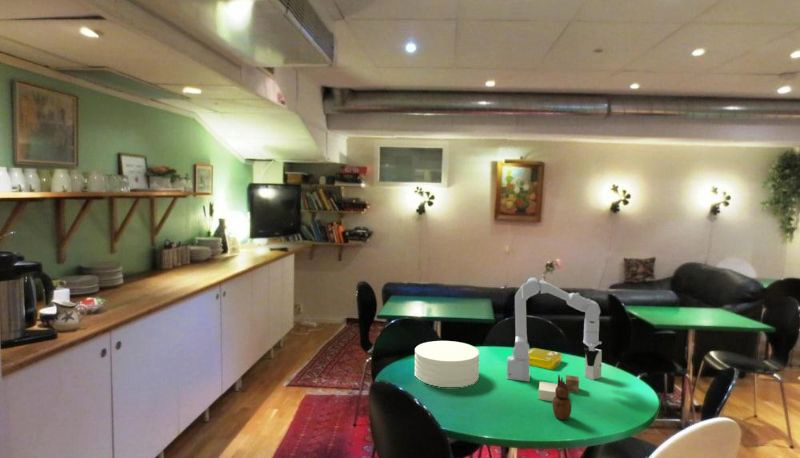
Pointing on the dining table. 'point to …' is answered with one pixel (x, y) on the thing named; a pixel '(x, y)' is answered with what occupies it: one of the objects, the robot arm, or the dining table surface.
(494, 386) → the dining table surface
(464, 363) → the plate stack
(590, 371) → the skincare box
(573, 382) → the walnut cube
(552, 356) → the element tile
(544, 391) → the cream base block
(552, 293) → the robot arm
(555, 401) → the wooden figurine
